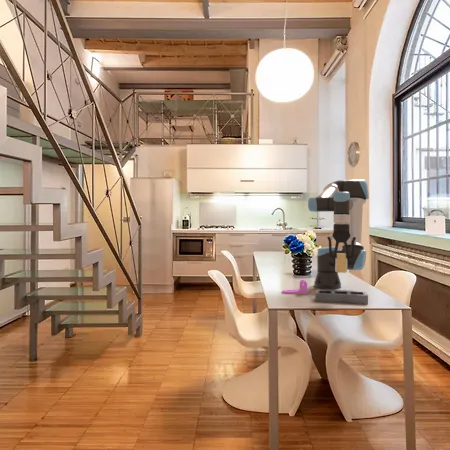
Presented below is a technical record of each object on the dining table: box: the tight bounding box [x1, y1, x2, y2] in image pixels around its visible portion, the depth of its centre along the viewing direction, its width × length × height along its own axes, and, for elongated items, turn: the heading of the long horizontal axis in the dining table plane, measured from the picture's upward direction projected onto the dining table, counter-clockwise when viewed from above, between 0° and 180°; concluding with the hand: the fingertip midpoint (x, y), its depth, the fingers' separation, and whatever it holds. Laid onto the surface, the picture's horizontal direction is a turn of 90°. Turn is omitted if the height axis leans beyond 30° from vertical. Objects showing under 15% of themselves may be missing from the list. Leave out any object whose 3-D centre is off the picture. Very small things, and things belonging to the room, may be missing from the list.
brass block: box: [337, 253, 347, 274], centre depth 193 cm, size 4×4×9 cm
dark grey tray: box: [315, 289, 369, 305], centre depth 193 cm, size 9×24×4 cm, turn 78°
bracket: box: [281, 279, 308, 295], centre depth 212 cm, size 13×6×7 cm, turn 82°
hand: (341, 271), depth 193 cm, fingers closed on brass block, 4 cm apart
